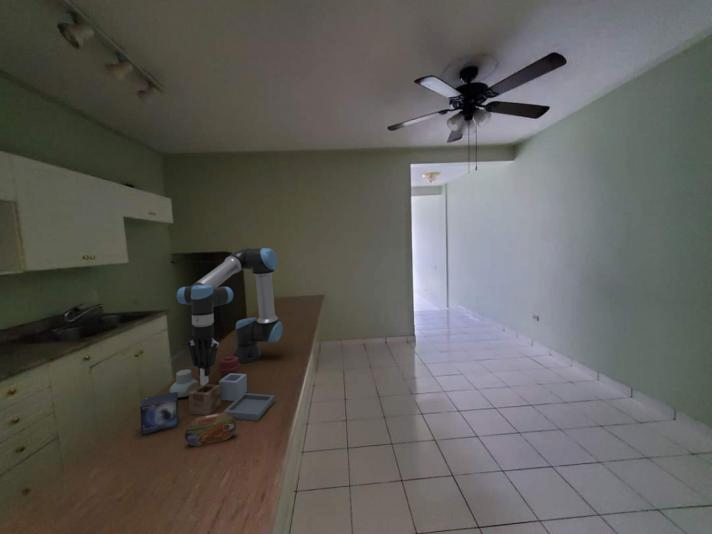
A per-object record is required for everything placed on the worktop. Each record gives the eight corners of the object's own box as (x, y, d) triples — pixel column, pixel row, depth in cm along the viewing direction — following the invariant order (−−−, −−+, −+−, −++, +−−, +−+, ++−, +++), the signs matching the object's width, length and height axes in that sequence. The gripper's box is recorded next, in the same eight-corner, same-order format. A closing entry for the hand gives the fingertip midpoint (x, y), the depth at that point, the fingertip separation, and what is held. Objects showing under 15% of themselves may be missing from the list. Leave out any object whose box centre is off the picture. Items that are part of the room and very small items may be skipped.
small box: (140, 436, 95) (139, 406, 94) (144, 426, 100) (143, 397, 100) (177, 427, 100) (176, 398, 99) (179, 418, 105) (178, 390, 105)
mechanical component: (227, 389, 127) (213, 384, 132) (245, 380, 136) (231, 376, 141) (226, 362, 127) (212, 358, 131) (244, 355, 135) (230, 352, 140)
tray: (243, 398, 119) (243, 393, 119) (274, 401, 117) (274, 395, 117) (223, 418, 105) (223, 411, 105) (258, 421, 103) (258, 414, 103)
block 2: (230, 390, 126) (230, 373, 126) (246, 391, 125) (246, 374, 125) (219, 399, 118) (218, 381, 118) (236, 401, 117) (236, 382, 117)
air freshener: (186, 387, 129) (185, 366, 129) (202, 389, 128) (201, 367, 127) (166, 399, 119) (165, 376, 118) (182, 401, 117) (181, 378, 116)
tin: (184, 448, 89) (183, 423, 88) (187, 442, 92) (186, 417, 91) (236, 438, 93) (235, 414, 93) (237, 433, 96) (236, 409, 96)
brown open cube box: (203, 402, 116) (203, 383, 116) (221, 404, 115) (220, 385, 115) (189, 413, 108) (188, 393, 108) (208, 415, 107) (207, 394, 107)
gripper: (180, 326, 107) (182, 386, 108) (211, 327, 105) (213, 389, 106) (194, 321, 114) (196, 378, 115) (224, 322, 113) (225, 380, 114)
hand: (204, 383), depth 111 cm, fingers closed
